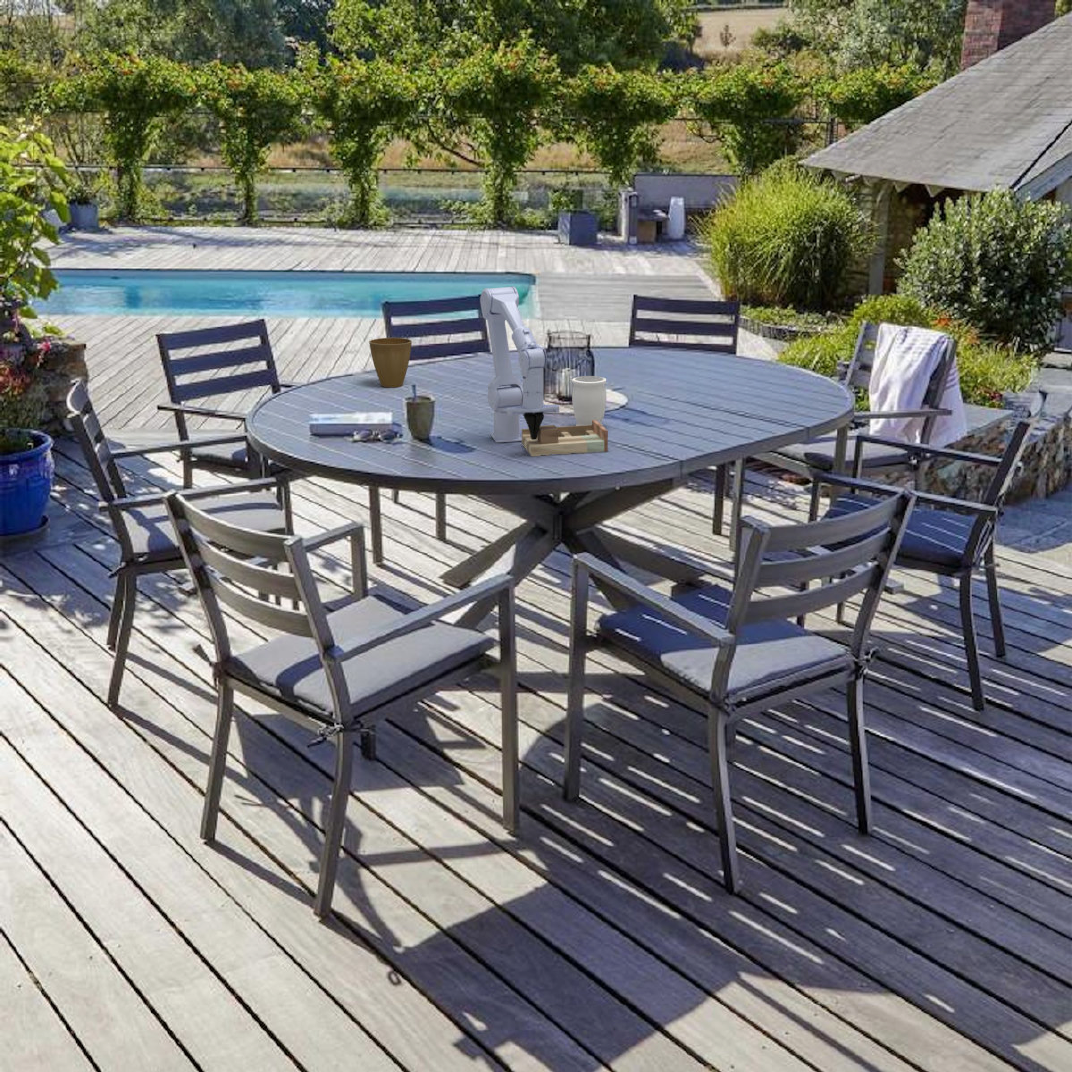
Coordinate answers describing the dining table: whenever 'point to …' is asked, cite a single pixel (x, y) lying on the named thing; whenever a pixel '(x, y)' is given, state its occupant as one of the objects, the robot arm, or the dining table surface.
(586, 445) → the trap box
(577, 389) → the jar
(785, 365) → the dining table surface
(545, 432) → the walnut block
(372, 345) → the plant pot
